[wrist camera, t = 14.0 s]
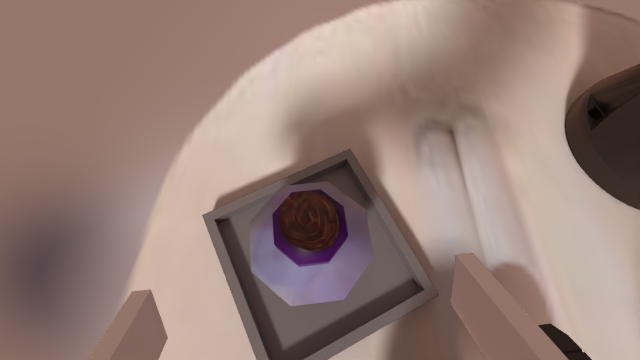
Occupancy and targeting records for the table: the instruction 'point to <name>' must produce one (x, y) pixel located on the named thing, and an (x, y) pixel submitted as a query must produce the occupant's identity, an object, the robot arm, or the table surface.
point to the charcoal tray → (327, 317)
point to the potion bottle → (310, 243)
